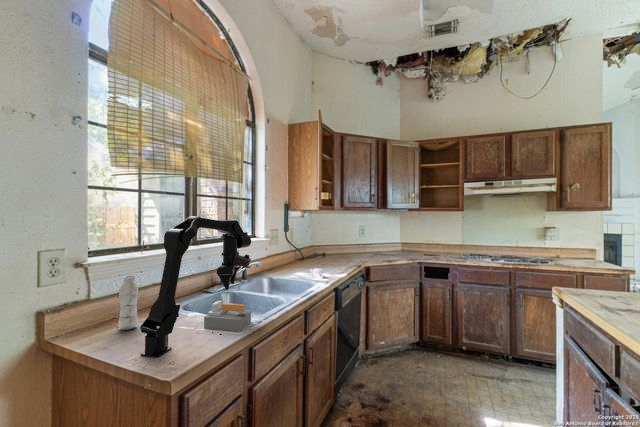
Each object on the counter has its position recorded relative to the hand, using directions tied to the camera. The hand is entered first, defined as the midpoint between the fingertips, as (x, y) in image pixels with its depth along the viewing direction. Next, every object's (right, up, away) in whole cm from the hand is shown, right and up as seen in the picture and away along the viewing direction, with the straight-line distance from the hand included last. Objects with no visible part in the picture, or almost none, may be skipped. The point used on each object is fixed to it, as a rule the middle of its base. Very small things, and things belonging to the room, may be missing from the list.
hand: (230, 286), depth 124 cm
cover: (-3, -9, -5) cm, 11 cm away
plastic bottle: (-36, -14, -11) cm, 40 cm away
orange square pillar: (+3, -9, -6) cm, 12 cm away
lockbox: (+1, -14, -6) cm, 15 cm away
